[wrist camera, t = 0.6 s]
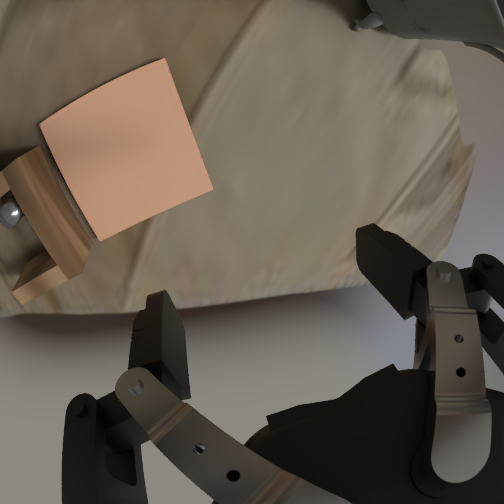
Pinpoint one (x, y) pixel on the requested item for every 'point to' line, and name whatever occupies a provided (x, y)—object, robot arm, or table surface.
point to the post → (10, 213)
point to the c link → (45, 225)
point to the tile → (127, 150)
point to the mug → (442, 21)
